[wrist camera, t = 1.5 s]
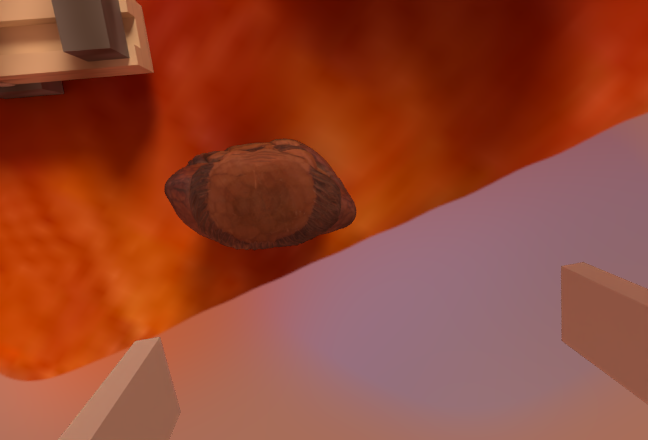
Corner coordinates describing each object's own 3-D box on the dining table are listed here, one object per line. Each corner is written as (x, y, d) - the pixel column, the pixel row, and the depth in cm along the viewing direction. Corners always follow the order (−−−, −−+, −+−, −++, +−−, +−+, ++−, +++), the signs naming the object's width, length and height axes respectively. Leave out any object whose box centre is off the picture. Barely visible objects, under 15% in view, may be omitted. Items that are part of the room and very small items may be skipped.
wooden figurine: (330, 135, 36) (367, 127, 18) (335, 199, 37) (374, 251, 20) (206, 145, 35) (121, 148, 17) (216, 211, 36) (146, 276, 19)
